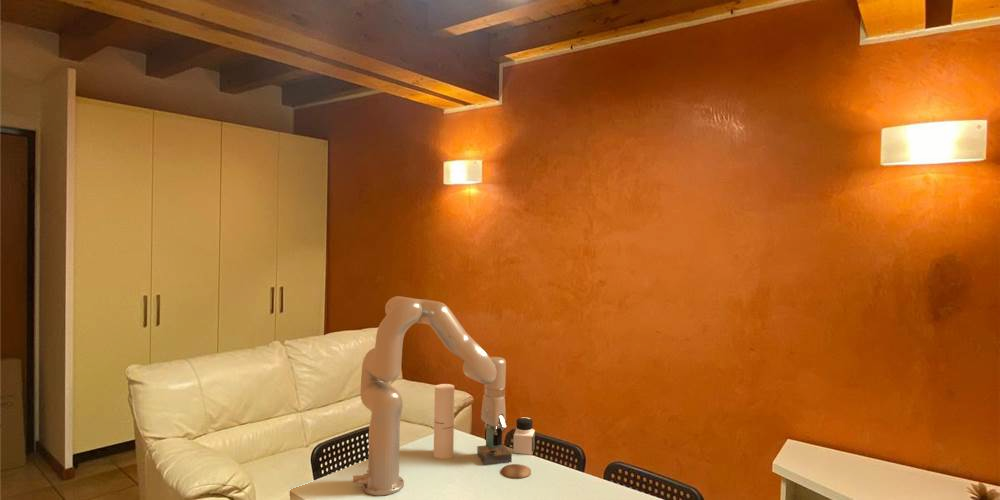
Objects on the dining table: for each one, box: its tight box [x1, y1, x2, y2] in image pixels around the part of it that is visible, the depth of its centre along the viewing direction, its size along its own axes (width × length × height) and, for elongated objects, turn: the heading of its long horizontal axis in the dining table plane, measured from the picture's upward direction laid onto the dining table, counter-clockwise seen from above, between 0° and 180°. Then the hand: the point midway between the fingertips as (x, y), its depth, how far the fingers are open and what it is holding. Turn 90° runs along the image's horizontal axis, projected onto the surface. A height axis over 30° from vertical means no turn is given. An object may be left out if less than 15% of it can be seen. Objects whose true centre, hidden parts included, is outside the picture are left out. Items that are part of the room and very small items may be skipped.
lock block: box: [476, 443, 513, 466], centre depth 182 cm, size 10×10×4 cm
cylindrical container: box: [433, 383, 455, 460], centre depth 184 cm, size 7×7×25 cm
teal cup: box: [485, 423, 500, 448], centre depth 181 cm, size 5×5×7 cm
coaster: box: [501, 463, 532, 480], centre depth 170 cm, size 10×10×1 cm
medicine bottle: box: [512, 416, 536, 456], centre depth 189 cm, size 7×7×12 cm
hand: (493, 441), depth 181 cm, fingers closed on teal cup, 5 cm apart
